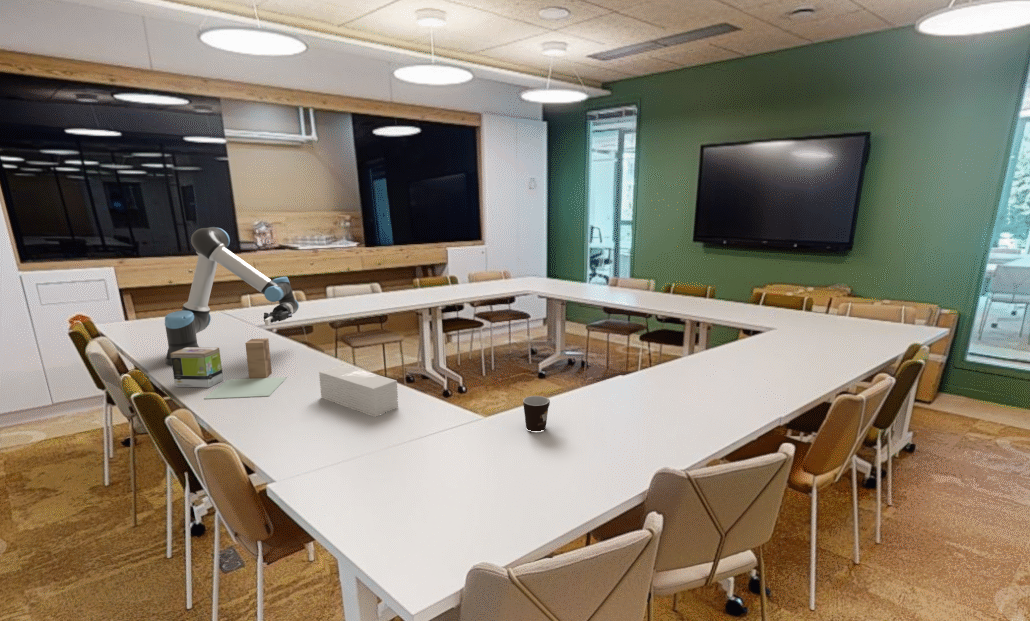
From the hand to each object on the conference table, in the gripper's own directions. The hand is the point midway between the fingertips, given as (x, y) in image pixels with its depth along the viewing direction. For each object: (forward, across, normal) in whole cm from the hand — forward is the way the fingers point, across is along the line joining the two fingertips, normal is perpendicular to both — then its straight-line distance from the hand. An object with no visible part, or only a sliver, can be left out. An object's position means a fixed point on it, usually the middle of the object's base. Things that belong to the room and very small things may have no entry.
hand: (266, 322), depth 232 cm
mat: (+25, +2, -22) cm, 33 cm away
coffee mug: (+78, -110, -23) cm, 137 cm away
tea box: (+17, +24, -21) cm, 36 cm away
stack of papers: (+47, -46, -23) cm, 70 cm away
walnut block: (+10, +2, -22) cm, 24 cm away
